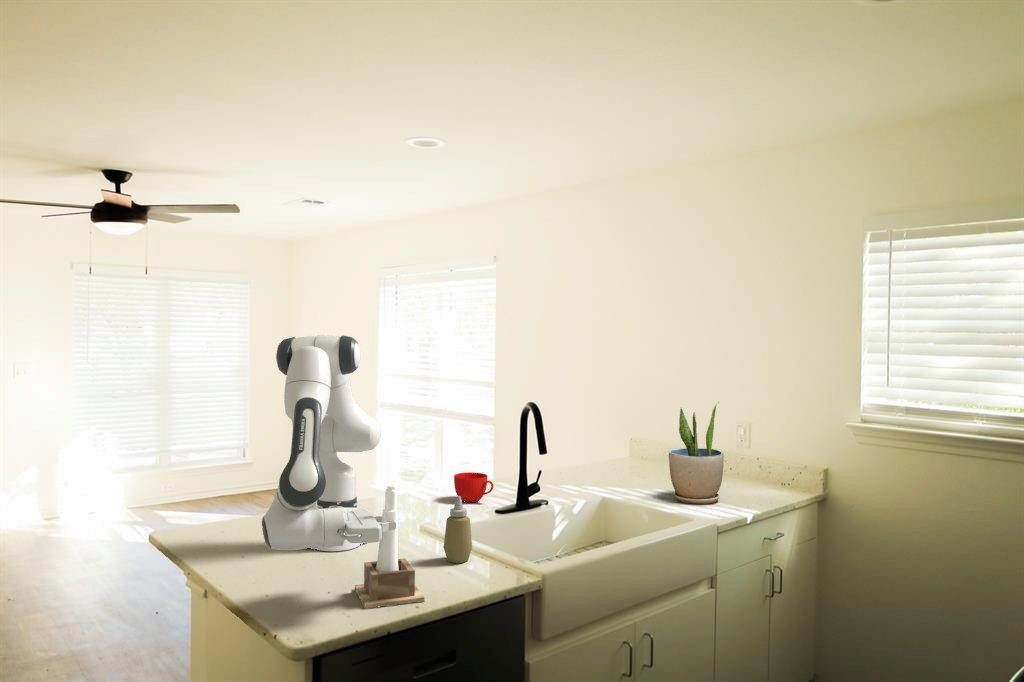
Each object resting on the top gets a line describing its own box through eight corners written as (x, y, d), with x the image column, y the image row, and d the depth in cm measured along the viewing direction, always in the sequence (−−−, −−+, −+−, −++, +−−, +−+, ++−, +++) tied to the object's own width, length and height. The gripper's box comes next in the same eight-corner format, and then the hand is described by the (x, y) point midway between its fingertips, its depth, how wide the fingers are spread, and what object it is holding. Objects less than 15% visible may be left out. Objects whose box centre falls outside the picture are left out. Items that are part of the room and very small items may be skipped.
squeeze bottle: (448, 566, 197) (449, 500, 197) (439, 557, 205) (440, 494, 205) (476, 563, 201) (477, 498, 201) (466, 554, 208) (467, 492, 208)
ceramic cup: (482, 508, 266) (483, 481, 266) (446, 502, 275) (447, 476, 275) (502, 502, 277) (502, 476, 277) (466, 496, 286) (467, 471, 286)
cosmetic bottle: (368, 576, 173) (373, 485, 174) (387, 571, 178) (392, 482, 179) (386, 582, 170) (391, 489, 170) (404, 576, 175) (409, 486, 175)
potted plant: (665, 504, 278) (667, 400, 278) (670, 492, 298) (671, 396, 298) (722, 508, 272) (724, 402, 271) (723, 496, 292) (724, 398, 292)
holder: (354, 589, 178) (355, 560, 178) (410, 582, 183) (410, 555, 183) (364, 609, 165) (365, 578, 165) (424, 601, 170) (424, 572, 170)
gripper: (341, 524, 160) (403, 519, 165) (329, 504, 179) (385, 500, 184) (341, 552, 160) (402, 547, 165) (329, 529, 179) (384, 525, 184)
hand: (393, 522), depth 175 cm, fingers closed on cosmetic bottle, 4 cm apart
